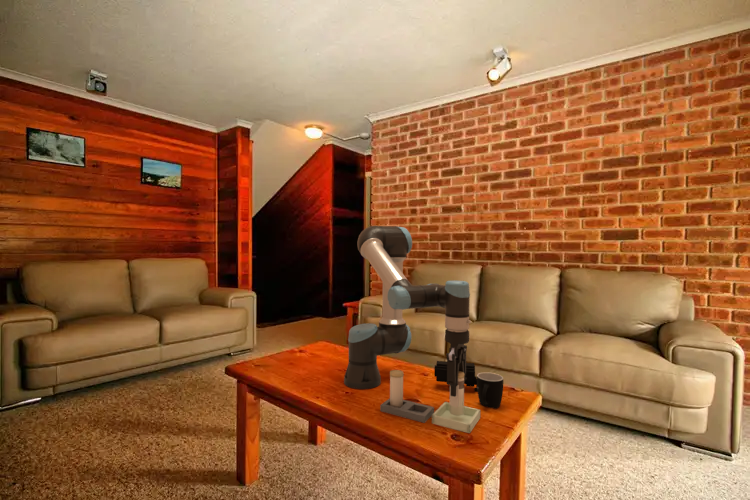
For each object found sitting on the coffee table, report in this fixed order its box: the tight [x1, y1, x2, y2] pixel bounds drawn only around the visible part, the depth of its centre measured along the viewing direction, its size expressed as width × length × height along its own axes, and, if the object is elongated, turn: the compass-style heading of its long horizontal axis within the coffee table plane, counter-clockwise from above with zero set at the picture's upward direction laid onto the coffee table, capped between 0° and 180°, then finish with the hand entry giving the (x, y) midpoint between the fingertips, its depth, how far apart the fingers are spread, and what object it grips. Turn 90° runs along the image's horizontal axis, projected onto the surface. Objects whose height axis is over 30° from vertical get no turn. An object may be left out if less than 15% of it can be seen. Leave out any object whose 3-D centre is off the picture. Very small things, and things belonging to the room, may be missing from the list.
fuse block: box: [379, 369, 435, 424], centre depth 121 cm, size 16×8×13 cm, turn 59°
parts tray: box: [431, 401, 481, 434], centre depth 116 cm, size 12×12×3 cm
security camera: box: [433, 360, 478, 393], centre depth 143 cm, size 7×18×10 cm, turn 78°
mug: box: [476, 371, 504, 410], centre depth 127 cm, size 12×9×10 cm
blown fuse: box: [450, 371, 465, 416], centre depth 115 cm, size 5×5×13 cm
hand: (456, 402), depth 115 cm, fingers closed on blown fuse, 4 cm apart
